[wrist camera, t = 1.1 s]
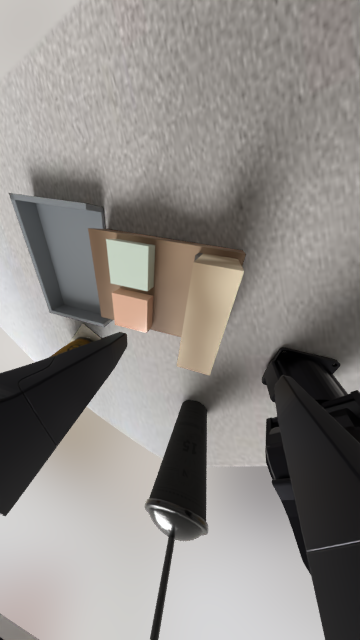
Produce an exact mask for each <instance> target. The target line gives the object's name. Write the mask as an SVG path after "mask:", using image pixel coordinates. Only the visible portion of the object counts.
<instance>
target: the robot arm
mask: <svg viewBox="0 0 360 640" xmlns="http://www.w3.org/2000/svg"><path fill="white" fill-rule="evenodd" d="M126 347H127V334H126V333H122V332H118V333H116V334H113V335H110V336H107V337H105V338H102V339H99V340H96V341H94V342H91V343H88V344H85V345H83V346H80V347H77V348H74V349H72V350H69V351H66V352H63V353H60V354H58V355H57V356H56V355H55V356H52V357H49V358H47V359H44V360H41V361H38V362H35V363H32V364H29V365H26V366H23V367H19V368H16V369H13V370H10V371H6V372H3V373H0V514H1V515H3V516H6V515H7V514H8V512H9V511H10V510H11V509H12V507H13V506H14V505H15V503H16V502H17V501H18V499H19V497H20V496H21V495H22V494H23V492H24V491H25V490H26V488H27V487H28V486H29V484H30V483H31V481H32V480H33V479H34V477H35V476H36V474H37V473H38V472H39V471H40V469H41V468H42V466H43V465H44V463H45V462H46V461H47V460H48V458H49V457H50V456H51V454H52V453H53V451H54V450H55V449H56V447H57V446H58V444H59V443H60V442H61V440H62V439H63V438H64V436H65V435H66V434H67V432H68V431H69V429H70V428H71V427H72V425H73V424H74V423H75V421H76V420H77V419H78V417H79V416H80V414H81V413H82V412H83V410H84V409H85V408H86V406H87V405H88V404H89V402H90V401H91V399H92V398H93V397H94V395H95V394H96V393H97V391H98V390H99V389H100V387H101V386H102V384H103V383H104V382H105V380H106V379H107V378H108V376H109V375H110V374H111V372H112V371H113V369H114V368H115V366H116V365H117V363H118V361H119V360H120V358H121V356H122V354H123V353H124V351H125V349H126ZM284 351H286V352H284ZM339 367H340V363H339V362H338V361H337V360H334V359H330V358H326V357H322V356H318V355H313V354H309V353H305V352H301V351H297V350H293V349H288V348H281V349H280V350H279V351H278V353H277V354H276V356H275V358H274V360H273V361H271V362H270V364H269V366H268V367H267V369H266V371H265V373H264V376H263V378H262V383H263V384H265V385H267V388H268V391H269V395H270V399H271V400H272V401H273V402H275V403H276V409H277V417H275V418H268V419H267V420H266V463H267V466H268V469H269V472H270V475H271V477H272V479H273V480H272V484H273V486H274V488H275V490H276V491H277V494H278V495H279V497H280V499H281V501H282V503H283V506H284V508H285V511H286V513H287V515H288V518H289V521H290V524H291V527H292V529H293V532H294V536H295V539H296V542H297V545H298V548H299V551H300V554H301V557H302V560H303V562H304V564H305V566H306V568H307V569H308V571H309V573H310V574H311V576H312V581H313V585H314V590H315V595H316V599H317V603H318V608H319V613H320V617H321V622H322V626H323V631H324V636H325V640H360V392H359V391H358V390H356V391H353V392H350V393H351V394H347V392H346V391H345V390H344V388H343V387H342V386H341V384H340V383H339V382H338V381H337V379H336V378H335V377H334V375H333V373H334V372H335V371H336V370H337V369H338V368H339ZM0 640H39V639H37V638H36V637H34V636H33V635H31V634H30V633H28V632H27V631H25V630H24V629H22V628H21V627H19V626H17V625H16V624H15V623H13V622H12V621H10V620H9V619H7V618H6V617H4V616H3V615H1V614H0Z"/></svg>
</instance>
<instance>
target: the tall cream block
mask: <svg viewBox="0 0 360 640" xmlns="http://www.w3.org/2000/svg"><path fill="white" fill-rule="evenodd" d="M243 273H244V270H243V268H242V266H241V264H240V262H239V260H238V259H234V258H228V257H222V256H216V255H210V254H204V253H197V254H196V255H195V259H194V263H193V269H192V275H191V281H190V287H189V293H188V300H187V306H186V312H185V318H184V324H183V330H182V337H181V343H180V349H179V355H178V361H177V366H178V367H181V368H185V369H189V370H192V371H196V372H199V373H203V374H206V375H210V373H211V370H212V367H213V364H214V361H215V358H216V355H217V352H218V349H219V346H220V343H221V340H222V337H223V334H224V331H225V328H226V325H227V322H228V319H229V316H230V313H231V310H232V306H233V303H234V300H235V297H236V294H237V291H238V288H239V285H240V282H241V279H242V276H243Z"/></svg>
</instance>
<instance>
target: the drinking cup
mask: <svg viewBox="0 0 360 640" xmlns="http://www.w3.org/2000/svg"><path fill="white" fill-rule="evenodd" d="M206 453H207V410H206V408H205V407H204V406H203V405H202V404H201V403H199V402H196V401H185V402H184V403H183V404H182V406H181V409H180V412H179V415H178V418H177V420H176V423H175V426H174V429H173V432H172V435H171V438H170V440H169V443H168V446H167V449H166V452H165V455H164V458H163V461H162V463H161V466H160V469H159V472H158V475H157V478H156V481H155V484H154V486H153V489H152V492H151V495H150V498H149V499H147V501H146V503H145V509H146V510H147V512H148V513H149V514H150V516H151V518H152V520H153V522H154V524H155V525H156V526H157V527H158V528H159V529H160V530H161V531H162V532H163V533H164V534H165V535H167V536H168V537H169V538H168V545H167V550H166V555H165V561H164V566H163V571H162V577H161V582H160V587H159V593H158V599H157V603H156V609H155V614H154V620H153V625H152V631H151V636H150V640H158V638H159V632H160V626H161V620H162V614H163V608H164V601H165V595H166V589H167V583H168V577H169V571H170V565H171V559H172V553H173V547H174V541H175V540H180V541H190V540H194V539H196V538H198V537H199V536H201V535H206V534H207V533H208V524H207V523H206Z"/></svg>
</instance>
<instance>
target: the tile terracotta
mask: <svg viewBox="0 0 360 640" xmlns="http://www.w3.org/2000/svg"><path fill="white" fill-rule="evenodd" d="M112 300H113V310H114V319H115V325H118V326H122V327H126V328H129V329H133V330H137V331H141V332H145V333H147V332H148V331H149V330H150V328H151V327H152V314H153V296H152V295H148V294H143V293H139V292H134V291H130V290H125V289H121V288H120V289H118V290H116V291H114V292H112Z"/></svg>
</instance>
